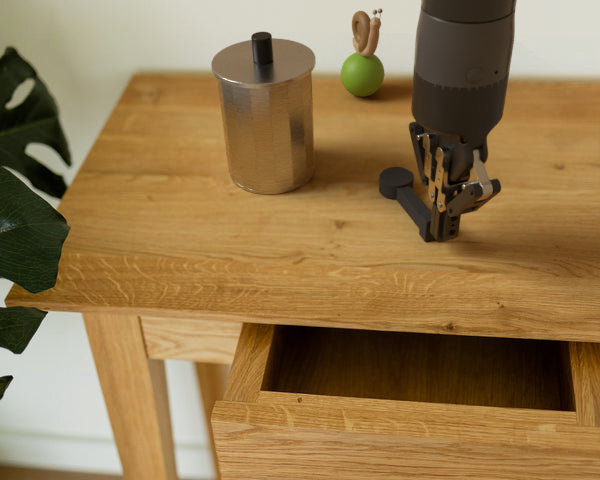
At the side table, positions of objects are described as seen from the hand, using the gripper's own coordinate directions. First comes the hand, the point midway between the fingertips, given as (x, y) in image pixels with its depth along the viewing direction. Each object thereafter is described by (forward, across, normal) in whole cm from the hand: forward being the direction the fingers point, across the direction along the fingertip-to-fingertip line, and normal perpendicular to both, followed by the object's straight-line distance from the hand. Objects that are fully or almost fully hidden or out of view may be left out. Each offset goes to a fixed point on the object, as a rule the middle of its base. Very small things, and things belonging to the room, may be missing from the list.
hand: (443, 235), depth 72 cm
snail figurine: (+2, +31, -5) cm, 32 cm away
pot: (+2, +20, +11) cm, 22 cm away
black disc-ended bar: (+1, +7, 0) cm, 7 cm away
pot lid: (-11, +20, +11) cm, 25 cm away
